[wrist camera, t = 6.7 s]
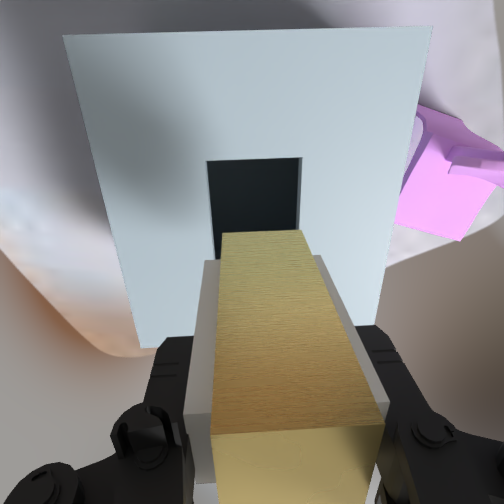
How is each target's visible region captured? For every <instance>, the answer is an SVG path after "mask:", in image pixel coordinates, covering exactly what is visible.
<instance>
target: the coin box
mask: <svg viewBox="0 0 504 504" xmlns="http://www.w3.org/2000/svg"><path fill="white" fill-rule="evenodd" d="M432 29H433V26H405V27H364V28H323V29H282V30H241V31H201V32H160V33H119V34H78V35H62V37H63V41H64V45H65V49H66V53H67V57H68V61H69V65H70V69H71V73H72V77H73V81H74V85H75V89H76V92H77V96H78V100H79V104H80V108H81V112H82V116H83V120H84V124H85V128H86V132H87V136H88V140H89V144H90V148H91V152H92V156H93V160H94V164H95V168H96V172H97V176H98V180H99V184H100V188H101V192H102V196H103V200H104V204H105V207H106V211H107V215H108V219H109V223H110V227H111V231H112V235H113V239H114V243H115V247H116V251H117V255H118V259H119V263H120V267H121V271H122V275H123V279H124V283H125V287H126V291H127V295H128V299H129V303H130V307H131V311H132V315H133V319H134V322H135V326H136V330H137V334H138V338H139V342H140V346H141V348H152V347H159V346H160V345H161V344H162V343H163V341H164V340H165V339H166V338H167V337H177V336H194V333H195V326H196V318H197V311H198V304H199V297H200V290H201V283H202V276H203V268H204V261H205V260H219V259H221V249H222V233H234V232H258V231H281V230H302V232H303V235H304V237H305V239H306V241H307V244H308V246H309V248H310V251H311V253H312V255H321V257H322V259H323V261H324V263H325V265H326V267H327V270H328V272H329V274H330V276H331V278H332V280H333V282H334V284H335V286H336V289H337V291H338V293H339V295H340V297H341V299H342V301H343V303H344V305H345V308H346V310H347V312H348V314H349V316H350V318H351V320H352V322H353V324H354V326H362V325H374V322H375V317H376V312H377V307H378V302H379V297H380V292H381V287H382V282H383V277H384V272H385V267H386V262H387V256H388V251H389V246H390V241H391V236H392V231H393V226H394V221H395V216H396V211H397V206H398V201H399V196H400V191H401V186H402V181H403V176H404V170H405V165H406V160H407V155H408V150H409V145H410V140H411V135H412V130H413V125H414V120H415V115H416V110H417V105H418V100H419V95H420V90H421V84H422V79H423V74H424V69H425V64H426V59H427V54H428V49H429V44H430V39H431V34H432Z"/></svg>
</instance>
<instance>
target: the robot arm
mask: <svg viewBox="0 0 504 504" xmlns="http://www.w3.org/2000/svg"><path fill="white" fill-rule="evenodd" d="M313 258H314V260H315V262H316V265H317V267H318V269H319V271H320V274H321V276H322V278H323V281H324V283H325V285H326V288H327V290H328V292H329V295H330V297H331V299H332V302H333V304H334V306H335V308H336V311H337V313H338V315H339V318H340V320H341V322H342V325H343V327H344V329H345V332H346V334H347V336H348V338H349V341H350V343H351V345H352V348H353V350H354V352H355V355H356V357H357V359H358V362H359V364H360V366H361V368H362V371H363V373H364V375H365V378H366V380H367V382H368V385H369V387H370V389H371V392H372V394H373V396H374V399H375V401H376V403H377V405H378V408H379V410H380V412H381V415H382V417H383V419H384V422H385V428H384V432H383V436H382V440H381V444H380V447H379V451H378V455H377V459H376V464H377V466H378V469H379V472H380V475H381V481H380V484H379V487H378V490H377V494H376V497H375V504H504V442H501V441H496V440H492V439H488V438H484V437H480V436H475V435H471V434H468V433H465V432H462V431H459V430H457V429H456V428H455V427H454V425H453V424H451V423H450V422H449V421H448V420H447V419H446V418H445V417H443V416H442V415H440V414H438V413H436V412H434V411H433V410H432V409H431V408H430V406H429V405H428V403H427V401H426V400H425V398H424V396H423V395H422V393H421V391H420V390H419V388H418V386H417V384H416V383H415V381H414V379H413V378H412V376H411V374H410V372H409V371H408V369H407V367H406V365H405V364H404V363H403V362H402V359H401V357H400V355H399V354H398V352H396V348H395V347H394V345H393V343H392V341H391V340H390V338H389V336H388V335H387V334H385V333H384V332H383V331H382V330H380V328H378V327H377V326H376V325H362V326H354V324H353V322H352V320H351V318H350V316H349V314H348V312H347V310H346V308H345V305H344V303H343V301H342V299H341V297H340V295H339V293H338V291H337V289H336V286H335V284H334V282H333V280H332V278H331V276H330V274H329V272H328V270H327V267H326V265H325V263H324V261H323V259H322V257H321V255H313ZM220 265H221V259H219V260H205V261H204V268H203V276H202V283H201V290H200V297H199V304H198V311H197V318H196V326H195V333H194V336H177V337H167V338H166V339H165V340H164V341H163V343H162V344H161V345H160V346H159V348H158V349H157V352H156V355H155V359H154V363H153V367H152V370H151V374H150V379H149V382H148V386H147V389H146V393H145V397H144V401H143V403H140V404H137V405H134V406H133V407H131V408H130V409H128V410H127V411H125V412H124V413H123V414H122V415H121V416H120V417H119V419H118V420H117V421H116V422H115V424H114V426H113V429H112V432H111V435H110V437H111V440H112V442H113V445H114V448H115V450H116V453H115V454H113V455H112V456H110V457H107V458H106V459H103V460H101V461H99V462H96V463H93V464H91V465H88V466H86V467H83V468H80V469H78V470H74V469H73V468H72V467H71V466H70V465H68V464H64V463H61V462H57V463H51V464H46V465H44V466H42V467H40V468H38V469H36V470H34V471H32V472H31V473H29V474H28V475H27V476H26V477H25V478H23V479H22V480H21V481H20V482H19V483H18V484H17V485H16V487H15V488H14V489H13V490H12V492H11V493H10V494H9V496H8V497H7V499H6V500H5V502H4V504H194V502H193V489H194V478H195V480H196V484H204V483H216V476H215V468H214V461H213V453H212V446H211V438H210V428H211V412H212V396H213V379H214V363H215V347H216V330H217V314H218V298H219V282H220Z"/></svg>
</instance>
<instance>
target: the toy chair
mask: <svg viewBox="0 0 504 504" xmlns="http://www.w3.org/2000/svg"><path fill="white" fill-rule="evenodd" d="M416 116H418V117H419V118H420V119H421V120H422V122H423V135H422V138H421V141H420V143H419V145H418V147H417V149H416V151H415V153H414V156H413V158H412V160H411V162H410V164H409V166H408V169H407V171H406V173H405V175H404V177H403V181H402V186H401V191H400V196H399V201H398V206H397V211H396V216H395V221H394V223H395V224H398V225H402V226H406V227H409V228H413V229H416V230H420V231H423V232H427V233H430V234H434V235H438V236H441V237H446V238H450V239H454V240H457V241H461V239H462V238H463V236H464V235H465V233H466V232H467V230H468V229H469V227H470V226H471V224H472V222H473V220H474V219H475V217H476V215H477V214H478V212H479V210H480V209H481V207H482V206H483V204H484V203H485V201H486V200H487V198H488V197H489V195H490V194H491V192H492V191H493V190H494V188H495V187H496V186H500V187H502V188H504V151H502V150H501V149H500V148H499V147H498V146H496V145H494V144H493V143H491V142H489V141H487V140H485V139H483V138H482V137H480V136H478V135H476V134H474V133H473V132H471V131H470V130H469V129H468V128H467V127H466V126H465V125H464V123H463V121H462V120H460V119H457V118H455V117H452V116H449V115H446V114H443V113H441V112H438V111H435V110H432V109H430V108H427V107H424V106H421V105H419V104H418V105H417V110H416Z"/></svg>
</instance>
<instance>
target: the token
mask: <svg viewBox="0 0 504 504" xmlns="http://www.w3.org/2000/svg"><path fill="white" fill-rule="evenodd" d="M384 428H385V422H384V419H383V417H382V415H381V412H380V410H379V408H378V405H377V403H376V401H375V399H374V396H373V394H372V392H371V389H370V387H369V385H368V382H367V380H366V378H365V375H364V373H363V371H362V368H361V366H360V364H359V362H358V359H357V357H356V355H355V352H354V350H353V348H352V345H351V343H350V341H349V338H348V336H347V334H346V332H345V329H344V327H343V325H342V322H341V320H340V318H339V315H338V313H337V311H336V308H335V306H334V304H333V302H332V299H331V297H330V295H329V292H328V290H327V288H326V285H325V283H324V281H323V278H322V276H321V274H320V271H319V269H318V267H317V265H316V262H315V260H314V258H313V255H312V253H311V251H310V248H309V246H308V244H307V241H306V239H305V237H304V235H303V232H302V230H281V231H258V232H234V233H222V249H221V265H220V282H219V298H218V314H217V330H216V347H215V363H214V379H213V396H212V412H211V428H210V438H211V446H212V453H213V461H214V468H215V476H216V483H217V490H218V498H219V504H365V500H366V497H367V493H368V489H369V485H370V482H371V478H372V474H373V470H374V466H375V463H376V459H377V455H378V451H379V447H380V444H381V440H382V436H383V432H384Z"/></svg>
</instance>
